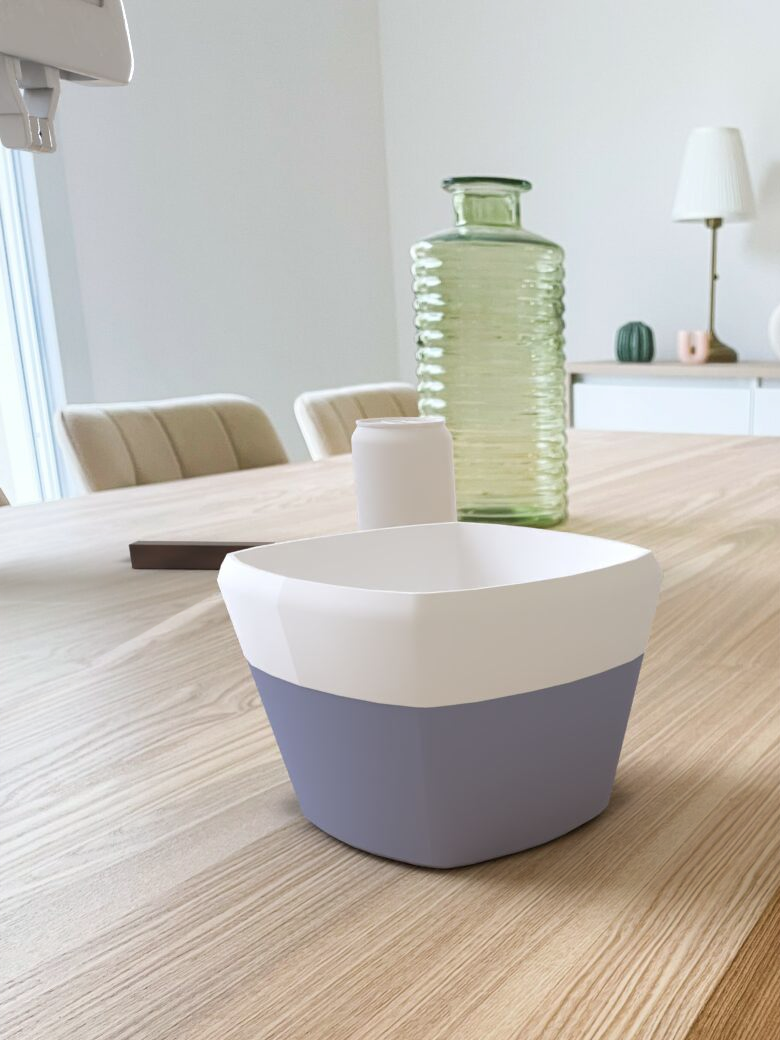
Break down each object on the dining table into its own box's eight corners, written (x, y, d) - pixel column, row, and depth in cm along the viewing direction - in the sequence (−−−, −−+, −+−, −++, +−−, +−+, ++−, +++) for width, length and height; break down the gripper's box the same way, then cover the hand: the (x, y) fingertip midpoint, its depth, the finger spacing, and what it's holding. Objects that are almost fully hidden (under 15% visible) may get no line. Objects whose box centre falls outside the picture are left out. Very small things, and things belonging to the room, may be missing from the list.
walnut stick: (131, 568, 110) (128, 544, 109) (141, 564, 112) (137, 540, 111) (271, 569, 109) (269, 545, 108) (279, 565, 111) (276, 542, 110)
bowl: (708, 810, 56) (713, 550, 52) (431, 922, 46) (409, 608, 42) (474, 738, 66) (462, 513, 62) (200, 818, 55) (162, 554, 51)
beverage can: (381, 583, 104) (369, 425, 99) (348, 567, 110) (335, 418, 106) (475, 574, 108) (467, 421, 103) (437, 559, 114) (429, 415, 109)
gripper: (53, -75, 83) (88, 168, 89) (-205, -184, 65) (-141, 131, 70) (141, -80, 82) (171, 167, 88) (-97, -193, 64) (-40, 128, 69)
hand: (30, 151), depth 79 cm, fingers closed
